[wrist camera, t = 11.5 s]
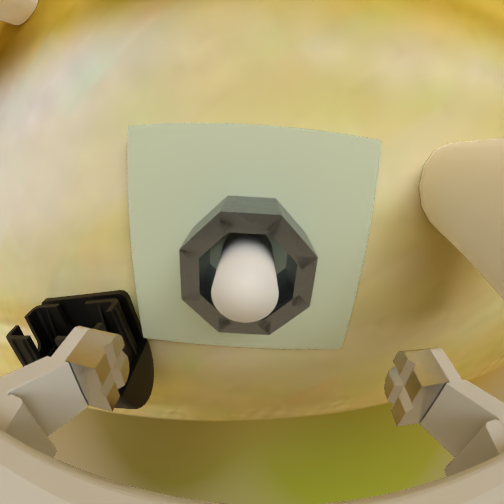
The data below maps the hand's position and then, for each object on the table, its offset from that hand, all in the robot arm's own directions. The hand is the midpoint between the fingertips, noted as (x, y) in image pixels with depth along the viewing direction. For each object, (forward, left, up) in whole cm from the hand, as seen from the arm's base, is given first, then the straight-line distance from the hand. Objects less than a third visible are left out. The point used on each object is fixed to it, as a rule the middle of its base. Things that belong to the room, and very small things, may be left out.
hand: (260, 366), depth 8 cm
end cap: (+13, +9, -11) cm, 19 cm away
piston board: (+1, 0, -11) cm, 11 cm away
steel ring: (+1, 0, -10) cm, 10 cm away
